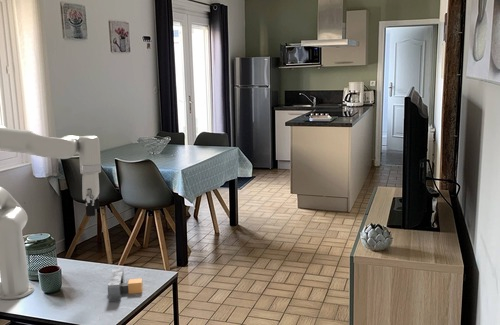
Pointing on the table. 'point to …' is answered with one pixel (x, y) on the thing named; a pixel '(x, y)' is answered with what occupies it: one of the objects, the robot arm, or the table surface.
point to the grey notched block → (116, 284)
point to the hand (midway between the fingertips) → (93, 212)
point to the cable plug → (132, 286)
